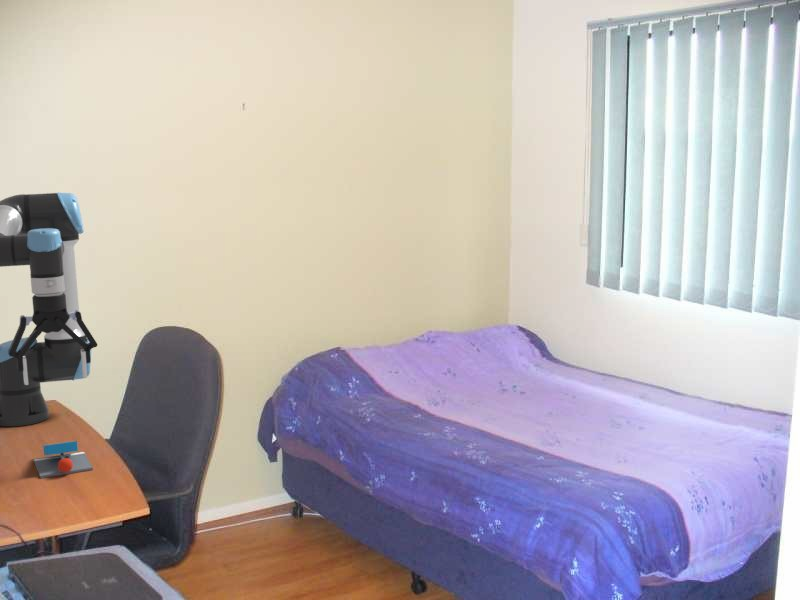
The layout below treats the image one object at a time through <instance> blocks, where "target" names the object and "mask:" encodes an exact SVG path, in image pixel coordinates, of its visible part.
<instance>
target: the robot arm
mask: <svg viewBox="0 0 800 600" xmlns="http://www.w3.org/2000/svg"><path fill="white" fill-rule="evenodd" d="M84 231H85V230H84V224H83V220H82V215H81V211H80V205H79V202H78V198H77V197H76V196H75V195H74V194H73V193H71V192H68V193H67V192H49V193H30V194H28V193H27V194H24V193H22V194H16V195H11V196H8V197H5V198H4V199H1V200H0V267H17V266H20V267H21V266H29V271H30V286H31V287H30V288H31V289H30V290H31V293H32V294H34V295H33V296H32V297H31V300H32V309H33V313H32V316H25V315H23V314H22V315H20V316H19V326H18V328H17V330H16V333H15V335H14V337H13V339H12V340H8V341H5V342H2V343H0V427H20V426H22V427H23V426H29V425H34V424H38V423H42V422H44V421H46V420H48V419H49V418H50V409H49V407H48V404H47V402H46V400H45V398H44V396H43V393H42V390H41V389H42V388H41V383H50V382H63V381H76V380H83V379H86V378H88V377H89V376H90V374H91V364H92V362H91V360H92V349H94V348H97V346H98V342H97V341H96V339H95V338H94V337H93V335H92V334H91V332H90V330H89V328H88V327H87V325H86V324H85V322H84V321H83V318H82V313H81V311H80V305H79V295H78V282H77V280H78V279H77V268H76V267H77V265H76V256H75V245H76V244H77V243H78V242H79V240H80V237H79V236H80V235H81V234H83V233H84ZM31 322H32V323H34V324H35V327H34V328H33V331H32V332H31V334H30V335H29V336H28V337H23V336H24V333H25V331H26V328H27V326H29V325H30V323H31ZM42 333H45V334H44V336H43V339H44V341H43V342H41V341H40V342H38V340H37V338H38V337H39V336H40V335H41V334H42Z"/></svg>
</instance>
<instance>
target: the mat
mask: <svg viewBox="0 0 800 600" xmlns="http://www.w3.org/2000/svg"><path fill="white" fill-rule="evenodd" d="M64 457H65V458H68V459H70V460H71V461H72V463H73V467H72V469H71V470H70V471H69V472H61V471H60V470H59V469H58V463H59V461H60V460H61V459H62V458H61V455H60V454H59V455H55V456H54V455H53V456H49V457H48V456H47V457H41V458H36V459H33V463H34V465H35V468H36V471H37V473H38V475H39V478H40V479H43V478H52V477H56V476H63V475H70V474H75V473H82V472H89V471H93V470H94V469H93V466H92V464H91V462H90V461H89V459H88V456H87V455H86V453H85V452H84V451H81V452H74V453H73V452H72V453H66V454H64Z"/></svg>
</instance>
